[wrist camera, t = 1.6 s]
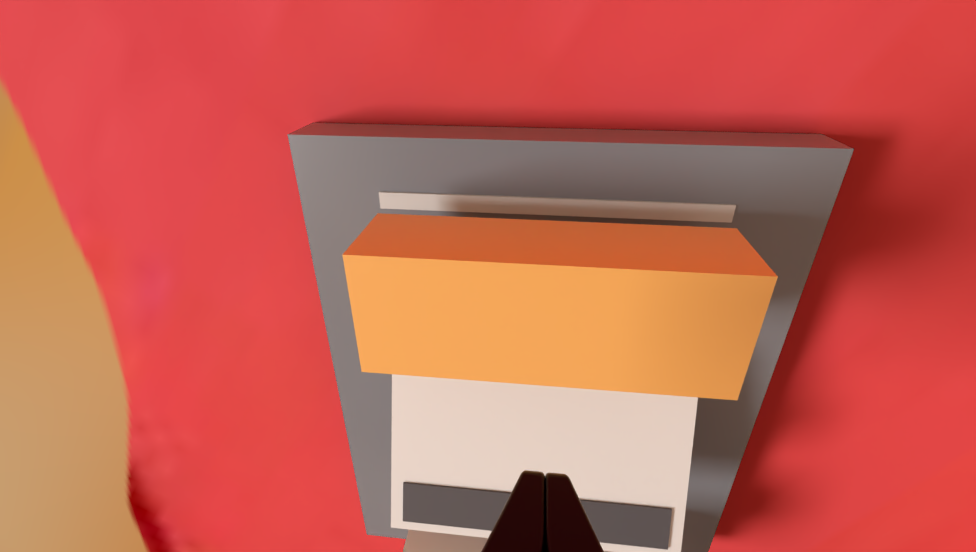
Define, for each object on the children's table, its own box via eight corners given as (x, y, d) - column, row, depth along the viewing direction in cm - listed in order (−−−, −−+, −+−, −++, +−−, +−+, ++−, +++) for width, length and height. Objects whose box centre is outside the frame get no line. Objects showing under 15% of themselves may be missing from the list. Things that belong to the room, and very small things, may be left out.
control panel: (821, 133, 16) (897, 168, 13) (691, 535, 27) (712, 615, 23) (313, 122, 18) (254, 150, 15) (378, 502, 29) (353, 572, 25)
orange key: (736, 228, 14) (777, 276, 12) (707, 337, 16) (737, 400, 14) (377, 213, 15) (342, 254, 13) (389, 317, 17) (361, 371, 15)
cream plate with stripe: (691, 368, 18) (701, 379, 17) (672, 540, 19) (680, 560, 18) (399, 348, 19) (391, 357, 18) (398, 511, 20) (390, 529, 19)
